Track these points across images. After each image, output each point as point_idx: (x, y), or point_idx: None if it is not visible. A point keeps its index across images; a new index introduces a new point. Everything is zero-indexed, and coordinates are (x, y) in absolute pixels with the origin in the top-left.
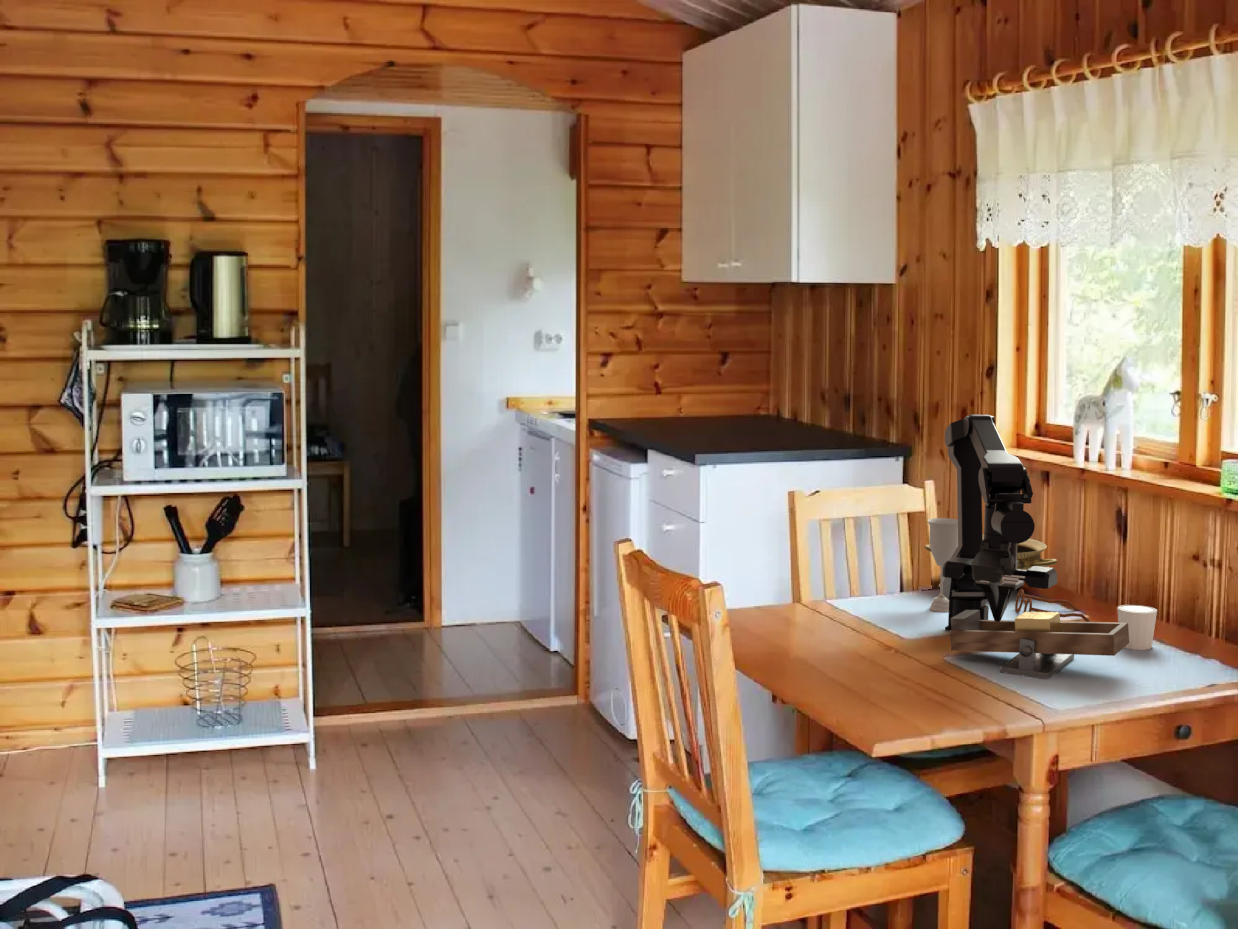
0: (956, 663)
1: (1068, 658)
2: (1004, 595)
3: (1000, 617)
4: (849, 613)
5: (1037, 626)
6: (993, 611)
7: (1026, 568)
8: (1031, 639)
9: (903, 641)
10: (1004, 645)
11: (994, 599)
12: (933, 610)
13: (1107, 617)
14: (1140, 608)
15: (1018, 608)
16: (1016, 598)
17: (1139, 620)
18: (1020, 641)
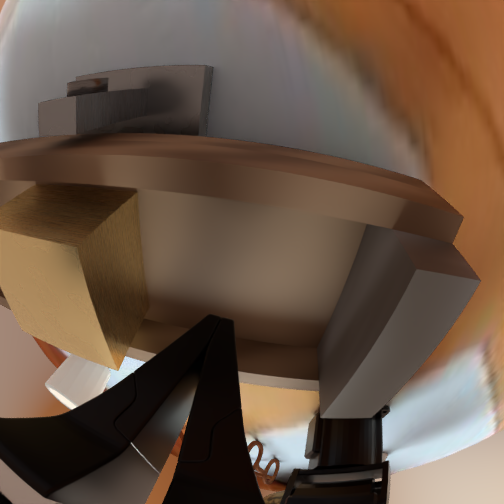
0: (386, 132)
1: None
2: (88, 420)
3: (195, 329)
4: (496, 414)
5: (24, 212)
6: (222, 356)
7: (269, 501)
8: (49, 131)
9: (492, 324)
10: (176, 139)
11: (188, 424)
12: (384, 453)
13: (178, 441)
14: (67, 403)
15: (272, 462)
16: (276, 474)
17: (55, 377)
18: (79, 95)
